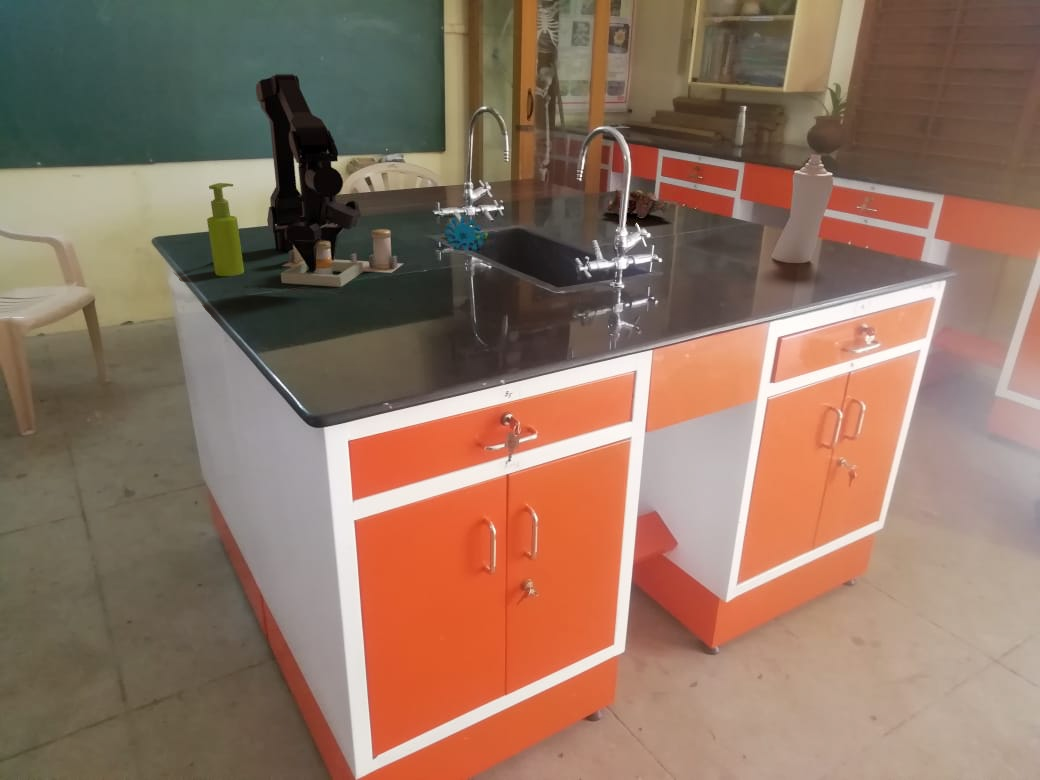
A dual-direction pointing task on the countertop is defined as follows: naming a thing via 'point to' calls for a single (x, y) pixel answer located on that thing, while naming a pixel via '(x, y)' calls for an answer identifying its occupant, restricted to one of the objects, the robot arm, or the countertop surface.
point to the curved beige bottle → (805, 212)
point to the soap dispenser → (224, 236)
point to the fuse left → (297, 256)
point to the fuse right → (382, 249)
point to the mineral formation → (640, 203)
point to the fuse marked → (323, 258)
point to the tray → (322, 275)
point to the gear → (465, 234)
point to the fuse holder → (366, 265)
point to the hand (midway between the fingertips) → (322, 265)
